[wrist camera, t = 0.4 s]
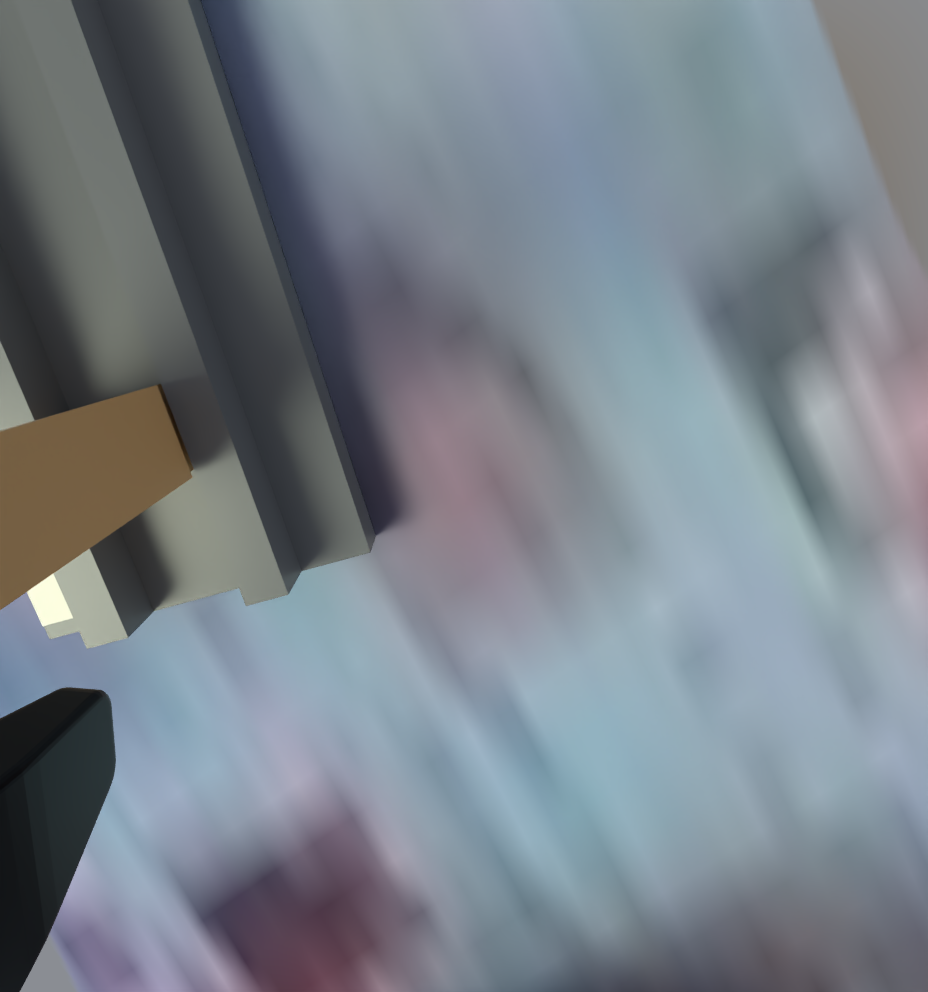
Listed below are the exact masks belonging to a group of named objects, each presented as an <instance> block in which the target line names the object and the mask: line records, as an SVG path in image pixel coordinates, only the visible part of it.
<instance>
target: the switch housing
mask: <svg viewBox="0 0 928 992" xmlns="http://www.w3.org/2000/svg"><path fill="white" fill-rule="evenodd" d="M158 384H161V385H162V388H163V390H164V393H165V396H166V398H167V401H168V403H169V406H170V409H171V411H172V414H173V416H174V419H175V422H176V424H177V427H178V430H179V432H180V435H181V437H182V440H183V443H184V445H185V448H186V450H187V453H188V456H189V458H190V461H191V463H192V466H193V469H194V470H192V471H191V475H192V477H193V478H191V479H190V480H188V481H187V482H185V483H184V484H182V485H181V486H179V487H178V488H177V489H175V490H174V491H172V492H171V493H169V494H168V495H166V496H165V497H164V498H162V499H161V500H159V501H158V502H156V503H155V504H153V505H152V506H150V507H149V508H148V509H146V510H145V511H143V512H142V513H140V514H139V515H137V516H136V517H135V518H133V519H132V520H130V521H129V522H127V523H126V524H124V525H123V526H121V527H120V528H119V529H117V530H116V531H114V532H113V533H111V534H110V535H108V536H107V537H105V538H104V539H103V540H101V541H100V542H98V543H97V544H95V545H94V546H92V547H91V548H90V549H88V550H87V551H85V552H84V553H82V554H81V555H79V556H78V557H76V558H75V559H74V560H72V561H71V562H69V563H68V564H66V565H65V566H63V567H62V568H60V569H59V570H58V571H56V572H55V573H53V574H52V575H50V576H49V577H47V578H46V579H45V580H43V581H42V582H40V583H39V584H37V585H36V586H34V587H33V588H31V589H30V590H29V591H27V593H28V596H29V598H30V600H31V602H32V604H33V606H34V609H35V611H36V613H37V615H38V617H39V619H40V622H41V624H42V626H44V627H45V630H46V632H47V634H48V636H49V638H50V639H53V638H56V637H60V636H64V635H68V634H71V633H75V632H80V634H81V636H82V639H83V641H84V643H85V645H86V647H87V649H88V648H92V647H96V646H99V645H103V644H107V643H111V642H114V641H118V640H122V639H125V638H128V637H129V636H130V635H131V634H132V633H133V632H134V631H135V630H136V629H137V628H138V627H139V626H140V625H141V624H142V623H143V622H144V621H145V620H146V619H147V618H148V617H149V616H150V615H151V613H152V612H153V611H156V610H160V609H163V608H167V607H171V606H174V605H178V604H182V603H186V602H189V601H193V600H197V599H200V598H204V597H208V596H211V595H215V594H219V593H222V592H226V591H230V590H233V589H237V588H239V589H240V591H241V594H242V597H243V599H244V602H245V605H246V606H248V605H252V604H255V603H259V602H263V601H266V600H270V599H274V598H278V597H281V596H285V595H288V594H289V592H290V591H291V589H292V587H293V585H294V584H295V582H296V580H297V578H298V576H299V575H300V573H301V571H304V570H307V569H311V568H315V567H318V566H322V565H326V564H329V563H333V562H337V561H340V560H344V559H348V558H351V557H355V556H359V555H363V554H366V553H370V552H371V549H372V546H373V543H374V540H375V537H376V536H375V533H374V530H373V527H372V524H371V521H370V518H369V514H368V511H367V508H366V505H365V502H364V499H363V496H362V493H361V490H360V487H359V484H358V481H357V478H356V475H355V472H354V469H353V465H352V462H351V459H350V456H349V453H348V450H347V447H346V444H345V441H344V438H343V435H342V432H341V429H340V426H339V423H338V420H337V417H336V413H335V410H334V407H333V404H332V401H331V398H330V395H329V392H328V389H327V386H326V383H325V380H324V377H323V374H322V371H321V368H320V365H319V361H318V358H317V355H316V352H315V349H314V346H313V343H312V340H311V337H310V334H309V331H308V328H307V325H306V322H305V319H304V316H303V312H302V309H301V306H300V303H299V300H298V297H297V294H296V291H295V288H294V285H293V282H292V279H291V276H290V273H289V270H288V267H287V264H286V260H285V257H284V254H283V251H282V248H281V245H280V242H279V239H278V236H277V233H276V230H275V227H274V224H273V221H272V218H271V215H270V212H269V208H268V205H267V202H266V199H265V196H264V193H263V190H262V187H261V184H260V181H259V178H258V175H257V172H256V169H255V166H254V163H253V160H252V156H251V153H250V150H249V147H248V144H247V141H246V138H245V135H244V132H243V129H242V126H241V123H240V120H239V117H238V114H237V111H236V107H235V104H234V101H233V98H232V95H231V92H230V89H229V86H228V83H227V80H226V77H225V74H224V71H223V68H222V65H221V62H220V59H219V55H218V52H217V49H216V46H215V43H214V40H213V37H212V34H211V31H210V28H209V25H208V22H207V19H206V16H205V13H204V10H203V7H202V3H201V0H0V431H1V430H4V429H8V428H11V427H14V426H18V425H21V424H25V423H28V422H31V421H35V420H38V419H42V418H45V417H49V416H52V415H55V414H59V413H62V412H65V411H69V410H72V409H75V408H79V407H82V406H86V405H89V404H92V403H96V402H99V401H103V400H106V399H110V398H113V397H116V396H120V395H123V394H127V393H130V392H134V391H137V390H141V389H144V388H147V387H151V386H154V385H158Z"/></svg>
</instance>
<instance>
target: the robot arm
mask: <svg viewBox="0 0 928 992" xmlns="http://www.w3.org/2000/svg"><path fill="white" fill-rule="evenodd" d="M115 764H116V755H115V743H114V731H113V719H112V706H111V701H110V698H109V696H108V695H107V694H106V693H105V692H104V691H102V690H95V689H83V688H68V687H67V688H61V689H58V690H56V691H54V692H52V693H50V694H48V695H46V696H44V697H42V698H40V699H38V700H36V701H34V702H32V703H30V704H28V705H26V706H24V707H22V708H20V709H18V710H16V711H14V712H12V713H10V714H8V715H6V716H5V717H3V718H1V719H0V992H19V991H20V990H21V988H22V986H23V984H24V982H25V980H26V978H27V977H28V975H29V973H30V971H31V969H32V967H33V965H34V963H35V961H36V959H37V957H38V955H39V953H40V951H41V949H42V948H43V945H44V944H45V941H46V940H47V937H48V935H49V933H50V930H51V928H52V926H53V924H54V921H55V919H56V917H57V915H58V912H59V910H60V907H61V905H62V903H63V900H64V898H65V895H66V893H67V890H68V888H69V886H70V883H71V881H72V878H73V876H74V874H75V871H76V869H77V866H78V864H79V861H80V859H81V857H82V854H83V852H84V849H85V847H86V844H87V842H88V840H89V837H90V835H91V832H92V830H93V828H94V825H95V823H96V820H97V818H98V815H99V813H100V811H101V808H102V806H103V803H104V801H105V798H106V796H107V794H108V791H109V789H110V786H111V783H112V780H113V777H114V772H115Z"/></svg>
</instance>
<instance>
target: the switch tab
mask: <svg viewBox="0 0 928 992" xmlns="http://www.w3.org/2000/svg"><path fill="white" fill-rule="evenodd" d="M192 470H194V469H193V466H192V463H191V461H190V458H189V456H188V453H187V450H186V448H185V445H184V443H183V440H182V437H181V435H180V432H179V430H178V427H177V424H176V422H175V419H174V416H173V414H172V411H171V409H170V406H169V403H168V401H167V398H166V396H165V393H164V390H163V388H162V385H161V384H158V385H154V386H151V387H147V388H144V389H141V390H137V391H134V392H130V393H127V394H123V395H120V396H116V397H113V398H110V399H106V400H103V401H99V402H96V403H92V404H89V405H86V406H82V407H79V408H75V409H72V410H69V411H65V412H62V413H59V414H55V415H52V416H49V417H45V418H42V419H38V420H35V421H31V422H28V423H25V424H21V425H18V426H14V427H11V428H8V429H4V430H1V431H0V610H1V609H2V608H4V607H5V606H7V605H8V604H10V603H11V602H13V601H14V600H15V599H17V598H18V597H20V596H21V595H23V594H24V593H26V592H27V591H29V590H30V589H31V588H33V587H34V586H36V585H37V584H39V583H40V582H42V581H43V580H45V579H46V578H47V577H49V576H50V575H52V574H53V573H55V572H56V571H58V570H59V569H60V568H62V567H63V566H65V565H66V564H68V563H69V562H71V561H72V560H74V559H75V558H76V557H78V556H79V555H81V554H82V553H84V552H85V551H87V550H88V549H90V548H91V547H92V546H94V545H95V544H97V543H98V542H100V541H101V540H103V539H104V538H105V537H107V536H108V535H110V534H111V533H113V532H114V531H116V530H117V529H119V528H120V527H121V526H123V525H124V524H126V523H127V522H129V521H130V520H132V519H133V518H135V517H136V516H137V515H139V514H140V513H142V512H143V511H145V510H146V509H148V508H149V507H150V506H152V505H153V504H155V503H156V502H158V501H159V500H161V499H162V498H164V497H165V496H166V495H168V494H169V493H171V492H172V491H174V490H175V489H177V488H178V487H179V486H181V485H182V484H184V483H185V482H187V481H188V480H190V479H191V478H193V477H192V475H191V471H192Z"/></svg>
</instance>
